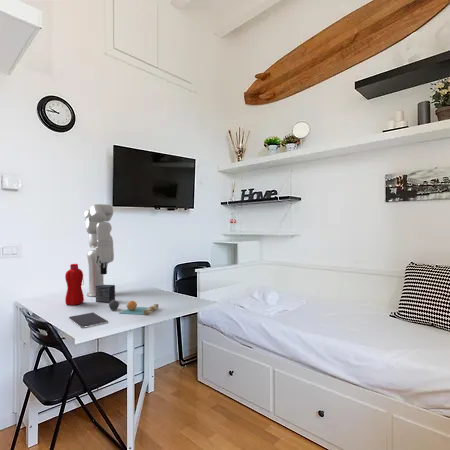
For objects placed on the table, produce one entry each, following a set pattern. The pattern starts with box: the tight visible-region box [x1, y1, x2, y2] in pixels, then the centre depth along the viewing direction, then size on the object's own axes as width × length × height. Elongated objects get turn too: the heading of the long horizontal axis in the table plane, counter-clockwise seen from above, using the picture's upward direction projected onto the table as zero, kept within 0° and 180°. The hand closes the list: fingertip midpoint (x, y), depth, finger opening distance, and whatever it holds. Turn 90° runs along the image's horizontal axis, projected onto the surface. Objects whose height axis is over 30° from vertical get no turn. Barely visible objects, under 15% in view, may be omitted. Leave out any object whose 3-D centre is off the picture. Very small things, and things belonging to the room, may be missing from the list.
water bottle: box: [64, 263, 85, 306], centre depth 201 cm, size 9×11×25 cm
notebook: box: [68, 311, 109, 328], centre depth 166 cm, size 13×2×21 cm
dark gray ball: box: [108, 299, 120, 311], centre depth 186 cm, size 6×6×6 cm
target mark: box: [119, 306, 149, 316], centre depth 183 cm, size 14×14×1 cm
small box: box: [95, 284, 116, 304], centre depth 206 cm, size 11×6×10 cm, turn 74°
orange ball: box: [126, 300, 138, 311], centre depth 184 cm, size 6×6×6 cm
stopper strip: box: [143, 303, 159, 316], centre depth 181 cm, size 14×2×2 cm, turn 167°
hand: (103, 273), depth 192 cm, fingers closed
